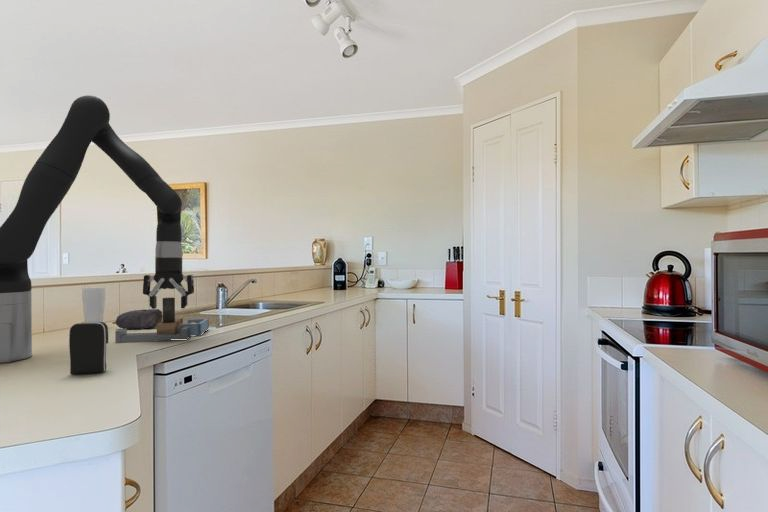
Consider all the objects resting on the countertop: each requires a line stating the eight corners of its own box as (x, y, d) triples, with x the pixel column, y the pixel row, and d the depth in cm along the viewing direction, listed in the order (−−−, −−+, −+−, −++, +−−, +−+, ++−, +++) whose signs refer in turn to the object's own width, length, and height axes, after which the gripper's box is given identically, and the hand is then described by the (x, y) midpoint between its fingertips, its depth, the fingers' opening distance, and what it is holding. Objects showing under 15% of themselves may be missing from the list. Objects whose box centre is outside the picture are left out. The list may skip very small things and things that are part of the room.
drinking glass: (93, 331, 147) (93, 288, 147) (77, 330, 148) (77, 287, 148) (110, 328, 154) (109, 286, 154) (94, 327, 155) (94, 286, 155)
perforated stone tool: (112, 330, 149) (112, 311, 149) (119, 328, 154) (119, 309, 154) (157, 329, 151) (157, 310, 151) (163, 327, 156) (163, 308, 156)
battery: (110, 369, 99) (110, 320, 99) (103, 373, 95) (103, 322, 95) (76, 370, 97) (76, 321, 97) (68, 375, 94) (68, 323, 94)
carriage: (174, 339, 130) (174, 298, 130) (156, 340, 129) (156, 299, 129) (188, 330, 145) (188, 294, 145) (173, 331, 145) (173, 294, 145)
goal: (200, 335, 139) (200, 323, 138) (178, 336, 137) (178, 324, 137) (208, 329, 149) (208, 318, 149) (188, 330, 148) (188, 319, 148)
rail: (185, 340, 131) (185, 329, 131) (115, 342, 128) (115, 331, 128) (189, 337, 136) (189, 326, 136) (121, 339, 133) (121, 328, 133)
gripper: (139, 256, 128) (139, 310, 128) (189, 256, 130) (189, 309, 130) (149, 256, 135) (148, 307, 135) (196, 256, 137) (196, 306, 137)
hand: (168, 308), depth 132 cm, fingers open, 8 cm apart
